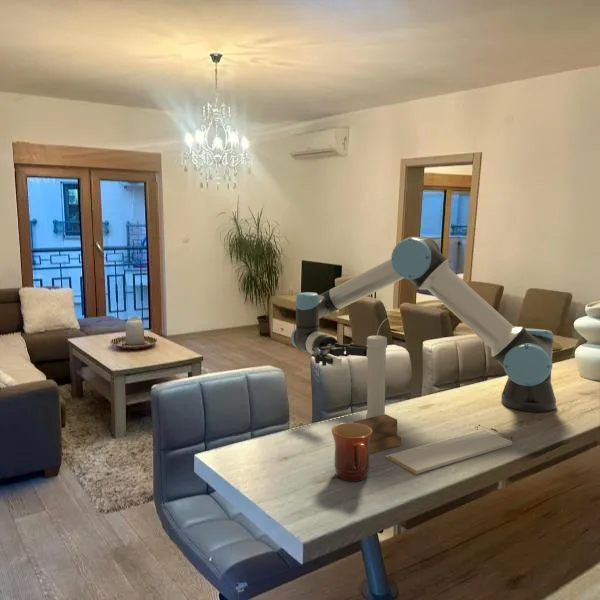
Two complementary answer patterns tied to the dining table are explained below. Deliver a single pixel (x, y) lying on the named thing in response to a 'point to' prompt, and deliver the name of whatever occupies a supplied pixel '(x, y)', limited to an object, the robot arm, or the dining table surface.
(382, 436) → the walnut stepped block
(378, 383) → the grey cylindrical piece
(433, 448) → the baseboard molding
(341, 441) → the mug
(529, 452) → the dining table surface
